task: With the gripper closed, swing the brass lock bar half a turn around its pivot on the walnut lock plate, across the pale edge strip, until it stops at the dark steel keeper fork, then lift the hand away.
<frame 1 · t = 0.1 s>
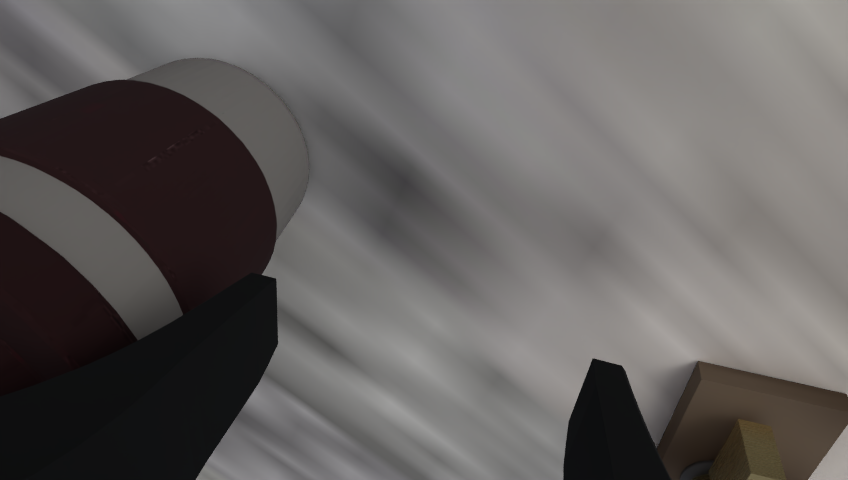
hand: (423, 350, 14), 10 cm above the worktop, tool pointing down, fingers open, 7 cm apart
lock plate: (709, 461, 27), on the worktop
coffee cup: (230, 144, 24), on the worktop
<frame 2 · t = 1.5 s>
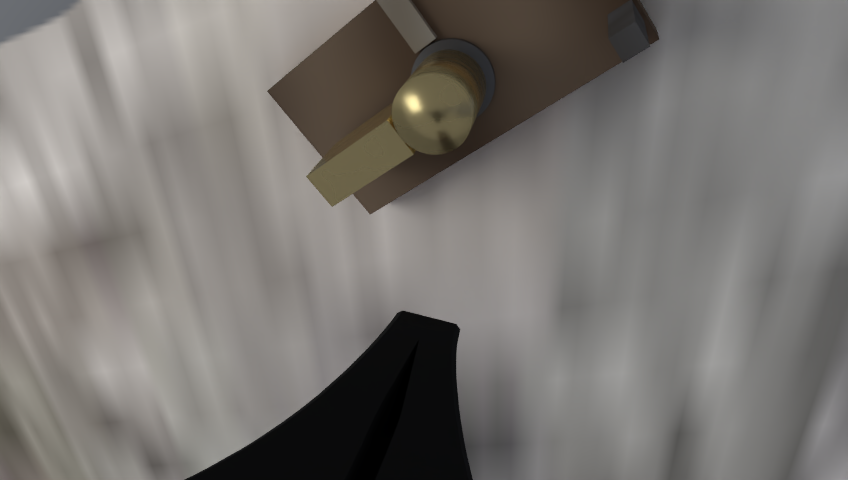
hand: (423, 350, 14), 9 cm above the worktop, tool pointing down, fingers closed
lock plate: (459, 71, 20), on the worktop
lock bar: (397, 130, 18), point 3 cm above the worktop, hinge at 0.0°
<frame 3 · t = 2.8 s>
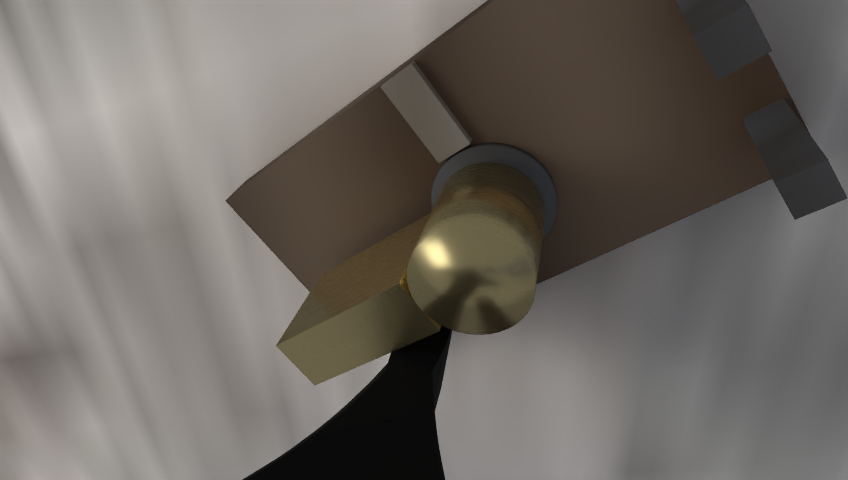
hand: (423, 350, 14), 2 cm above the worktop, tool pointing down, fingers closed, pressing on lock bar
lock plate: (500, 178, 14), on the worktop
lock bar: (413, 278, 12), point 3 cm above the worktop, hinge at 0.5°, touching gripper
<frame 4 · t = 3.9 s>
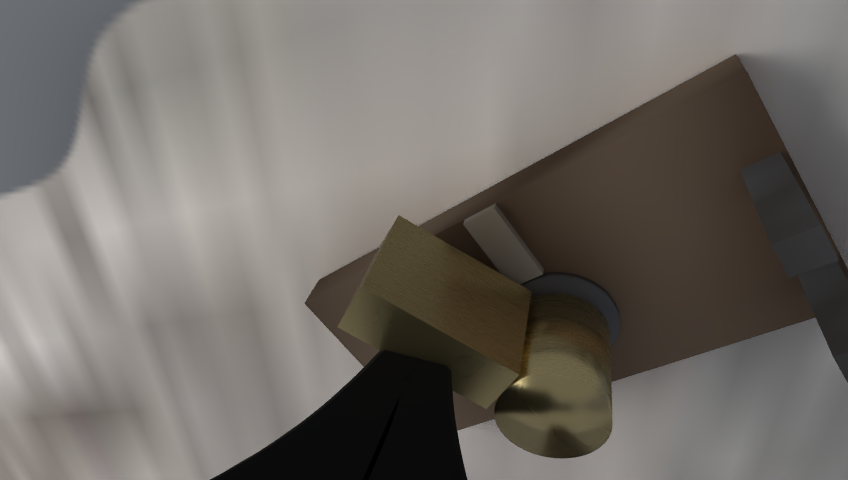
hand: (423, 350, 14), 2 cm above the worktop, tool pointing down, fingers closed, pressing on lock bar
lock plate: (561, 291, 15), on the worktop
lock bar: (487, 334, 13), point 3 cm above the worktop, hinge at 65.1°, touching gripper
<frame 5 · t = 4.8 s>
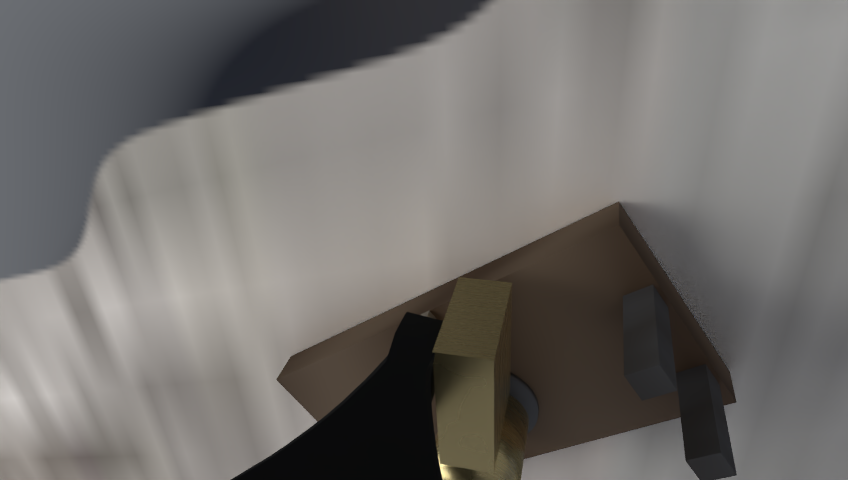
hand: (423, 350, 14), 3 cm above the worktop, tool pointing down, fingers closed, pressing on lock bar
lock plate: (495, 375, 17), on the worktop
lock bar: (476, 408, 14), point 3 cm above the worktop, hinge at 124.4°, touching gripper
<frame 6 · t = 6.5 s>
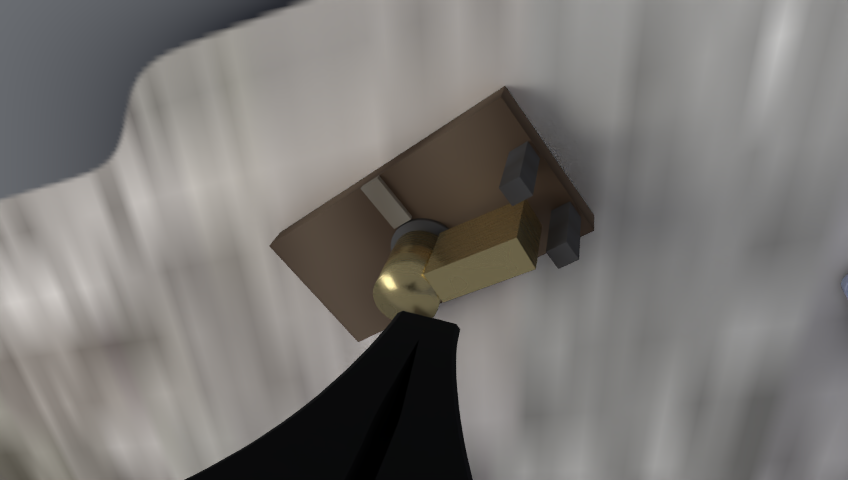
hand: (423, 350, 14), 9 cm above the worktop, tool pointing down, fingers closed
lock plate: (432, 234, 23), on the worktop
lock bar: (455, 260, 20), point 3 cm above the worktop, hinge at 185.4°
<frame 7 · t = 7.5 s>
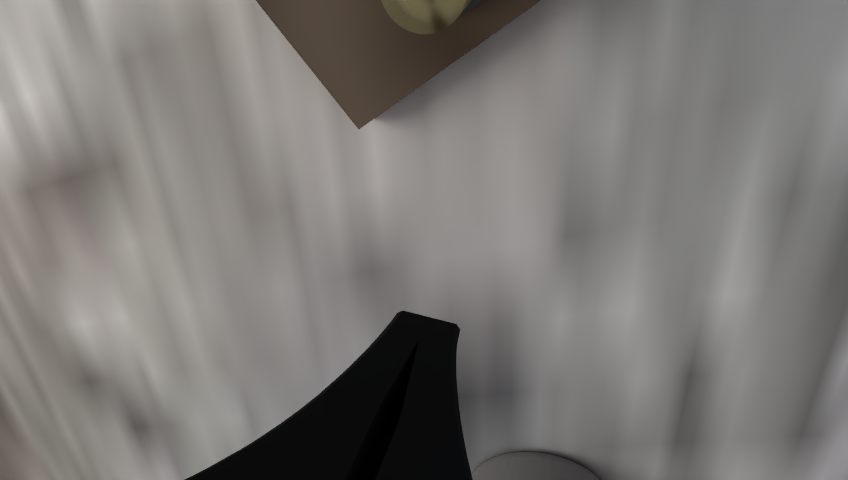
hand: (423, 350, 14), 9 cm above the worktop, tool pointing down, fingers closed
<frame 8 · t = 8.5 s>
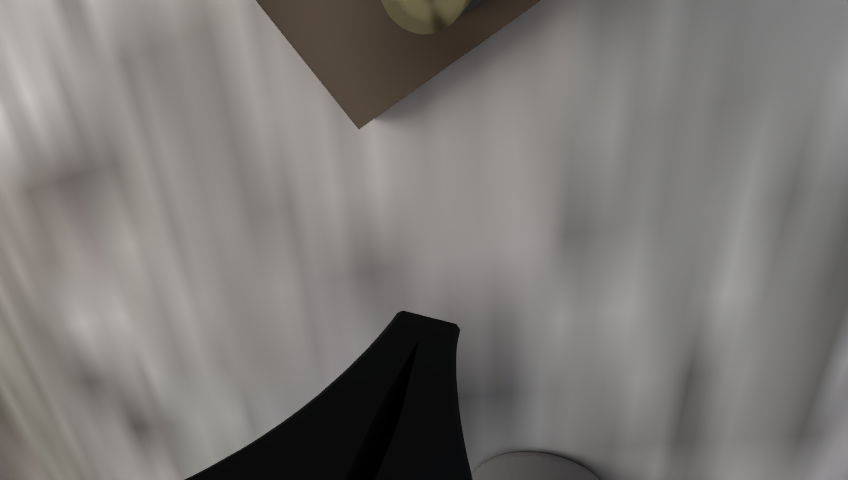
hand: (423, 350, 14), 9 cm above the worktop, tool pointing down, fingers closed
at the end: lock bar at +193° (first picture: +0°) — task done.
